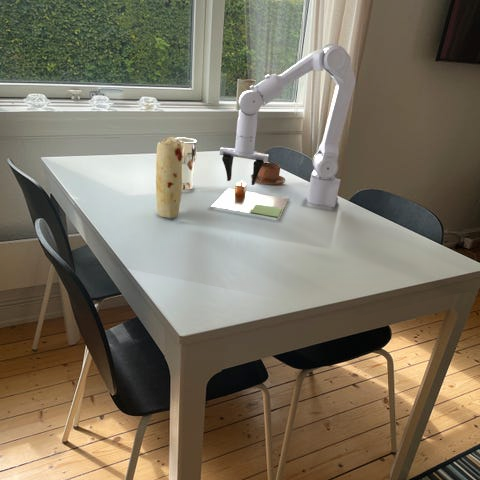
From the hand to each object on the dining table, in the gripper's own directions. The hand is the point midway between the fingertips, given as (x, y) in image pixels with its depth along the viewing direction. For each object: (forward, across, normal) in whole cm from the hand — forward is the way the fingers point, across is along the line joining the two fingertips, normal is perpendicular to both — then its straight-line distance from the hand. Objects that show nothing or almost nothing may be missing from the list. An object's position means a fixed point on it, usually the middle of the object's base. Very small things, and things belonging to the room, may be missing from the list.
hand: (241, 182), depth 149 cm
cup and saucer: (+5, +5, +22) cm, 23 cm away
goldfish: (+4, 0, 0) cm, 4 cm away
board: (+5, +5, -6) cm, 9 cm away
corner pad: (+4, +10, -11) cm, 16 cm away
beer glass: (+5, -18, -2) cm, 19 cm away
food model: (+5, -14, -26) cm, 29 cm away
